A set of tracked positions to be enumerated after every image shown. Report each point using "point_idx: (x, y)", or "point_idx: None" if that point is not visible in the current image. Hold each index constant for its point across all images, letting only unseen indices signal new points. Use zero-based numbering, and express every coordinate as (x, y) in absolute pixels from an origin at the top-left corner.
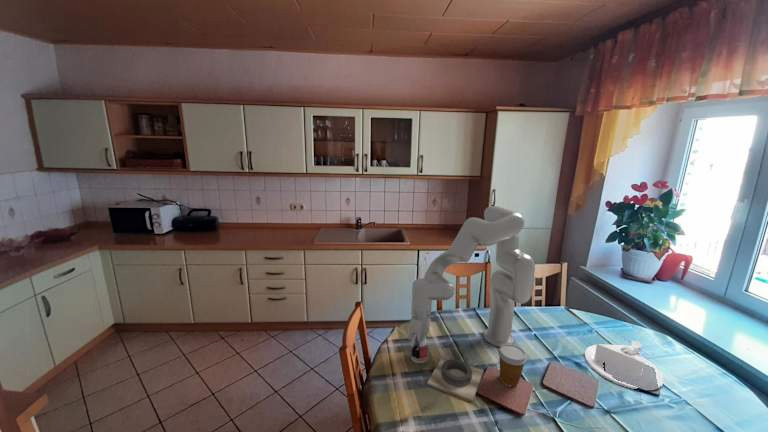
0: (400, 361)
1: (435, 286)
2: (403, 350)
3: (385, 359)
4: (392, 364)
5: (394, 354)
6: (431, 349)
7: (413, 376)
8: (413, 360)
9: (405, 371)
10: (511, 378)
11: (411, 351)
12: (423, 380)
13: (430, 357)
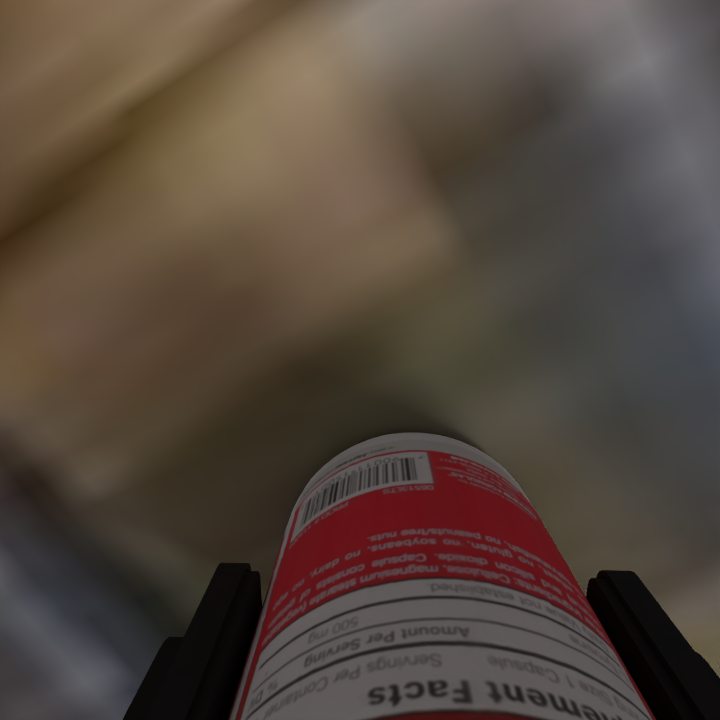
0: (195, 319)
1: None
2: (490, 233)
3: (74, 44)
4: (49, 234)
5: (297, 132)
6: (716, 617)
7: (44, 598)
8: (290, 516)
9: (53, 477)
10: None
11: (319, 534)
12: (67, 711)
13: None
